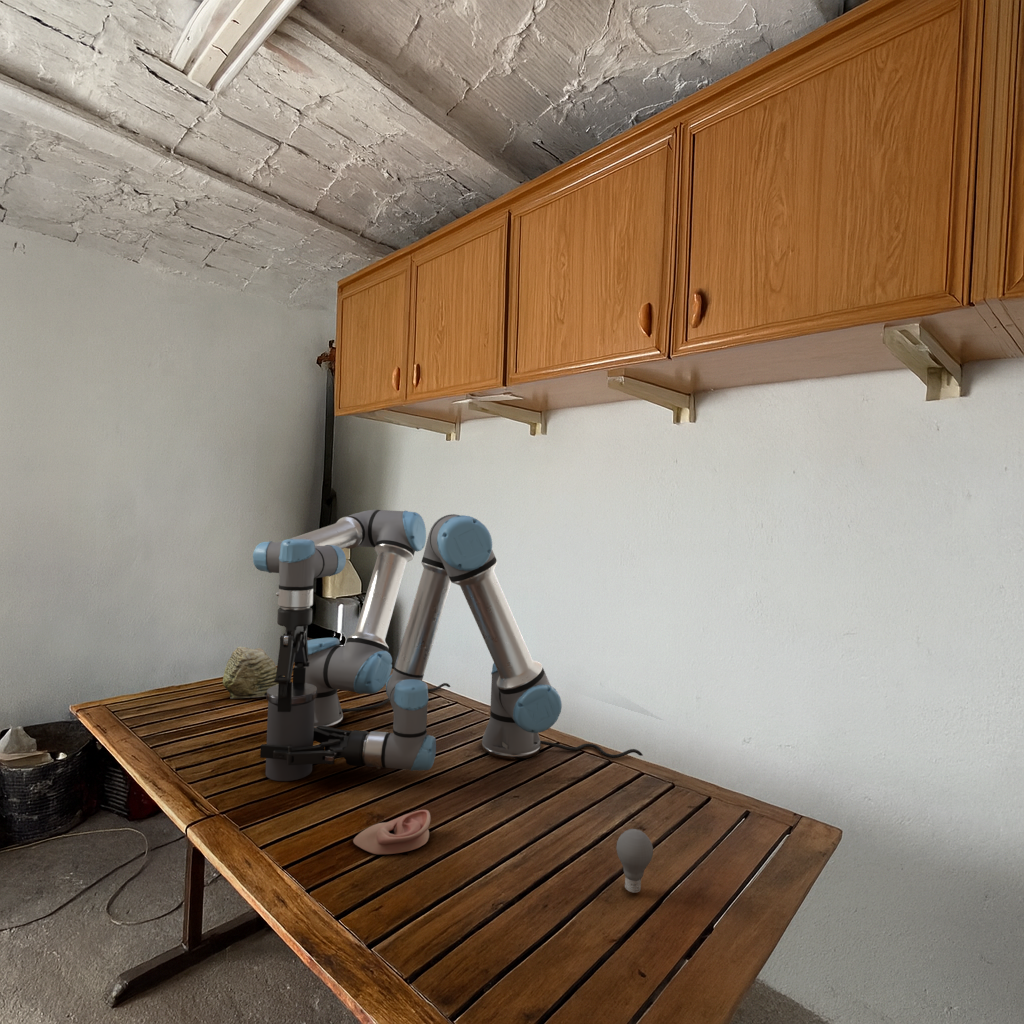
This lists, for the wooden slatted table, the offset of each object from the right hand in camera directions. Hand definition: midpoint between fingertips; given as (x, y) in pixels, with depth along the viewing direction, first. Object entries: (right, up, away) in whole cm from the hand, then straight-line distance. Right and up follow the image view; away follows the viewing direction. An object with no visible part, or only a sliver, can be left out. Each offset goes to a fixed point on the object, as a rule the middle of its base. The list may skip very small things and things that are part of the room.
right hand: (272, 741), depth 145 cm
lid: (+5, +12, -1) cm, 13 cm away
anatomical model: (+33, -9, -27) cm, 43 cm away
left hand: (+5, +9, -1) cm, 10 cm away
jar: (+4, -7, 0) cm, 8 cm away
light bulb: (+75, -11, -40) cm, 86 cm away
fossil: (-26, -4, +53) cm, 59 cm away
